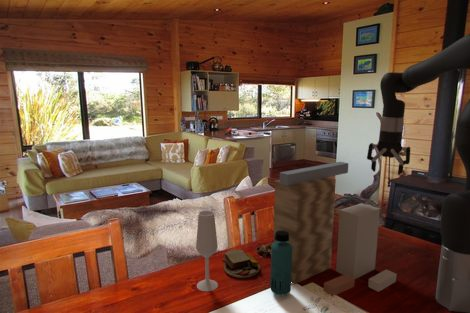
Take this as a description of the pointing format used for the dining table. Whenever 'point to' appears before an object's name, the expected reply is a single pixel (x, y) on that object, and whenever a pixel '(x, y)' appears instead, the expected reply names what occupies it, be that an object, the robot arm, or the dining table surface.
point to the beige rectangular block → (382, 280)
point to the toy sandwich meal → (240, 264)
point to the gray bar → (313, 173)
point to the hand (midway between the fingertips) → (386, 172)
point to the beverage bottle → (281, 264)
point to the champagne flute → (206, 245)
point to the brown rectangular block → (339, 284)
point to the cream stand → (357, 240)
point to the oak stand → (306, 224)
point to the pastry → (264, 249)
